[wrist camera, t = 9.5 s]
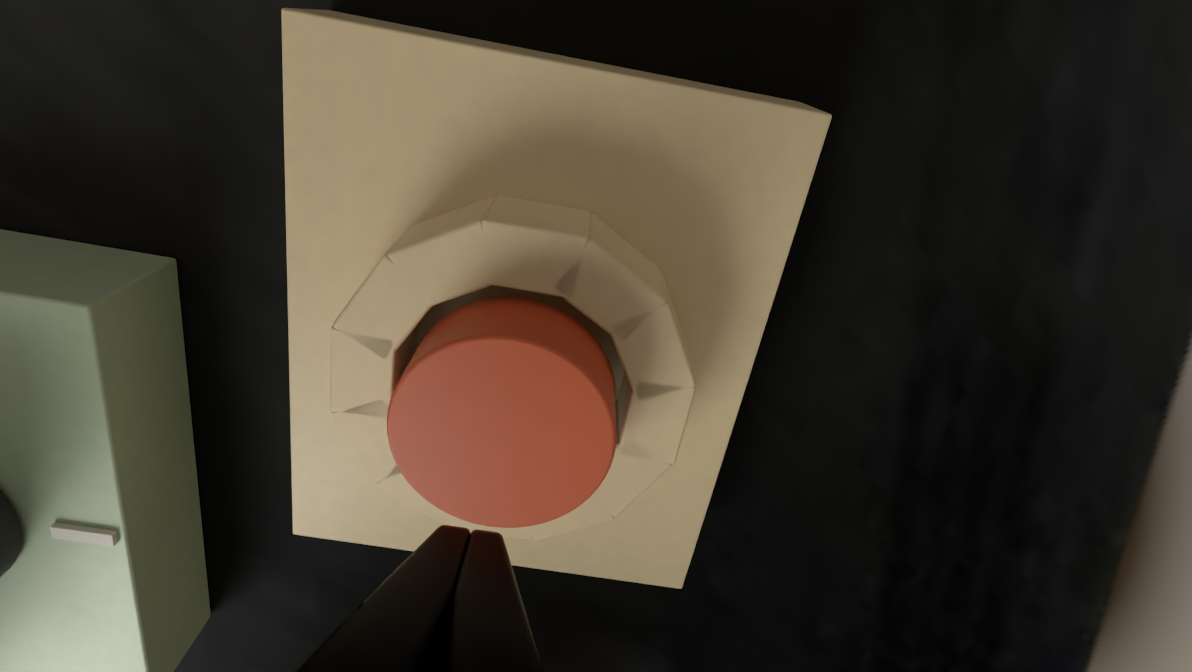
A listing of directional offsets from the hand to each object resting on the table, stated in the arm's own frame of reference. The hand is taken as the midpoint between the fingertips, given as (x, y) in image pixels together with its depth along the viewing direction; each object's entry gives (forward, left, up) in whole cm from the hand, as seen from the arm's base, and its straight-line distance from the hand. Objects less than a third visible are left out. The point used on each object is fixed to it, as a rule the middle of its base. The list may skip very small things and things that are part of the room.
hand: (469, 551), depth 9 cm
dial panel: (-6, +13, -8) cm, 16 cm away
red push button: (0, 0, -4) cm, 4 cm away
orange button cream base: (0, 0, -8) cm, 8 cm away
